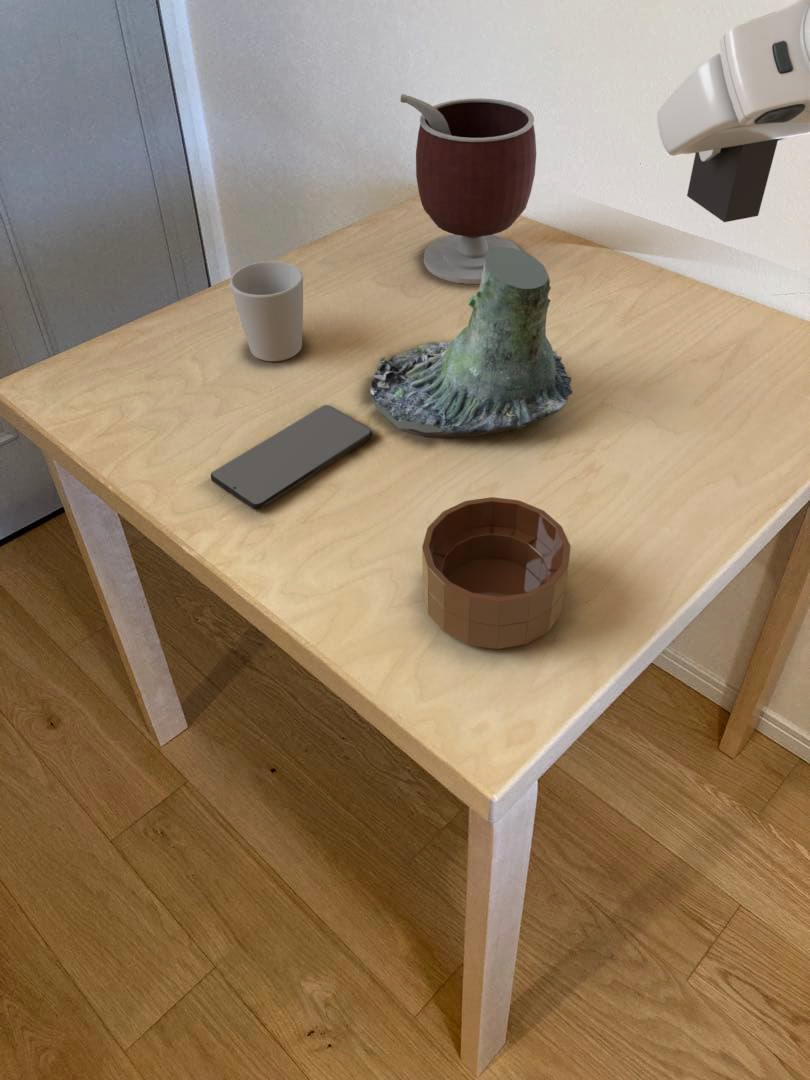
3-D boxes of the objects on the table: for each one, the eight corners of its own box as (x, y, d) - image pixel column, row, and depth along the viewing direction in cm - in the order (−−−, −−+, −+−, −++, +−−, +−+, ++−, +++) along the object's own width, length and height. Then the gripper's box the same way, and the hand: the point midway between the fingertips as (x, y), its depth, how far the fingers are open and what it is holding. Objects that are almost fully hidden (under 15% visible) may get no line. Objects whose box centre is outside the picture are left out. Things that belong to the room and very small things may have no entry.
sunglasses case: (719, 190, 83) (742, 86, 77) (758, 216, 79) (786, 108, 73) (686, 196, 82) (707, 91, 76) (724, 222, 78) (749, 114, 72)
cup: (240, 370, 96) (227, 298, 90) (243, 321, 103) (232, 252, 97) (311, 365, 96) (303, 293, 90) (309, 317, 104) (302, 247, 98)
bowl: (539, 542, 76) (545, 489, 72) (580, 640, 68) (589, 587, 64) (412, 561, 75) (411, 508, 71) (439, 663, 67) (440, 611, 63)
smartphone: (374, 430, 86) (255, 506, 79) (375, 437, 87) (257, 514, 79) (325, 402, 90) (207, 473, 82) (326, 409, 90) (208, 480, 83)
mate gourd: (518, 232, 118) (530, 67, 104) (536, 284, 108) (551, 109, 94) (401, 238, 117) (396, 73, 103) (408, 291, 107) (404, 117, 93)
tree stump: (418, 330, 102) (459, 181, 89) (574, 410, 98) (641, 268, 85) (335, 409, 90) (368, 251, 77) (510, 504, 86) (577, 355, 73)
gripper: (946, -2, 66) (821, 97, 80) (709, 29, 62) (618, 129, 75) (967, 80, 67) (838, 165, 80) (731, 118, 62) (636, 201, 75)
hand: (729, 148), depth 78 cm, fingers closed on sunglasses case, 3 cm apart
